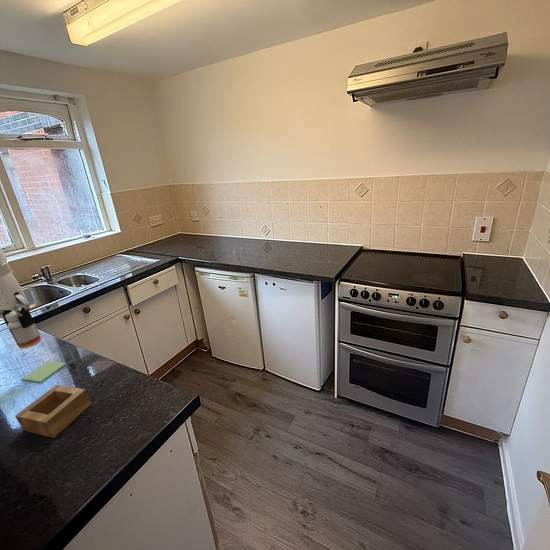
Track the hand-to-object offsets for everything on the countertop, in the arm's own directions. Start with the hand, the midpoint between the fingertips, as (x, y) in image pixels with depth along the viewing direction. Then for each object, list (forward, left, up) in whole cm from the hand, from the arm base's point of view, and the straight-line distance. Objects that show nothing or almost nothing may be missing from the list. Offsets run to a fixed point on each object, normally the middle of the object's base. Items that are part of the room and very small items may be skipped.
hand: (21, 324), depth 93 cm
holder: (+25, -14, -18) cm, 34 cm away
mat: (0, 0, -18) cm, 18 cm away
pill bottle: (0, 0, -7) cm, 7 cm away
